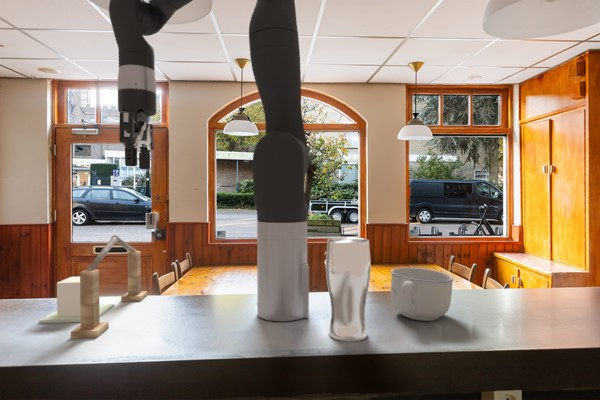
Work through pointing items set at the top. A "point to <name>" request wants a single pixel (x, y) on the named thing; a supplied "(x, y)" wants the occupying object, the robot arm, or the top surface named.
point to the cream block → (68, 297)
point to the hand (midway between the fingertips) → (138, 167)
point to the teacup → (421, 292)
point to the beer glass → (348, 287)
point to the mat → (64, 319)
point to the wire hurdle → (91, 290)
